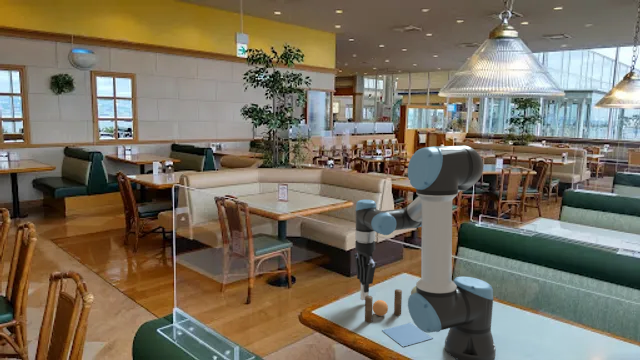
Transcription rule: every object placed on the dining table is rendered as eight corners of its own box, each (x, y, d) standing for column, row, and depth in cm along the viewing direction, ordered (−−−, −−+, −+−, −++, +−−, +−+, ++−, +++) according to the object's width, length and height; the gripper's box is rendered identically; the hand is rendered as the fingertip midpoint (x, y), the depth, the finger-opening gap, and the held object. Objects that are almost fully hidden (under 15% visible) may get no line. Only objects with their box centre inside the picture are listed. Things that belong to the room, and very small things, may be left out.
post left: (373, 321, 162) (373, 298, 160) (367, 323, 160) (367, 299, 159) (369, 318, 164) (369, 295, 162) (363, 320, 163) (363, 296, 161)
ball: (389, 299, 165) (381, 298, 170) (376, 301, 163) (368, 301, 168) (392, 314, 165) (383, 313, 170) (379, 317, 162) (371, 316, 167)
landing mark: (432, 338, 150) (432, 338, 150) (403, 347, 145) (403, 346, 145) (410, 323, 160) (410, 322, 160) (381, 330, 155) (381, 330, 155)
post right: (402, 314, 167) (403, 291, 166) (396, 315, 166) (397, 292, 164) (398, 311, 169) (399, 288, 168) (392, 313, 168) (393, 290, 167)
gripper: (383, 243, 168) (381, 303, 172) (364, 234, 180) (363, 291, 183) (366, 246, 165) (365, 307, 169) (348, 237, 176) (347, 294, 180)
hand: (364, 298), depth 176 cm, fingers closed
